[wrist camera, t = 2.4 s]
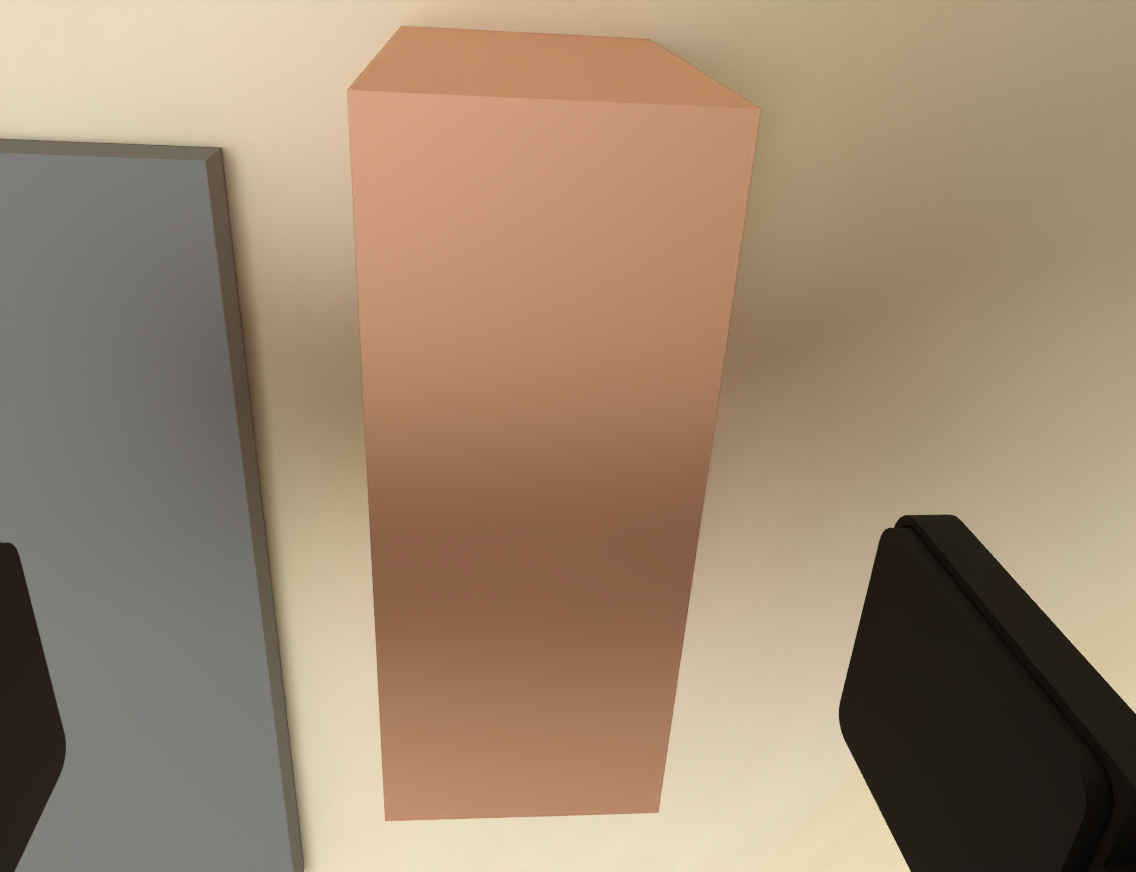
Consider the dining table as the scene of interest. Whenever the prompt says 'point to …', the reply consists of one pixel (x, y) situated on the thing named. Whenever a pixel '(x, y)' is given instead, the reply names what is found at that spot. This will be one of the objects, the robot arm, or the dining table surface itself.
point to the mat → (140, 512)
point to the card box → (538, 404)
